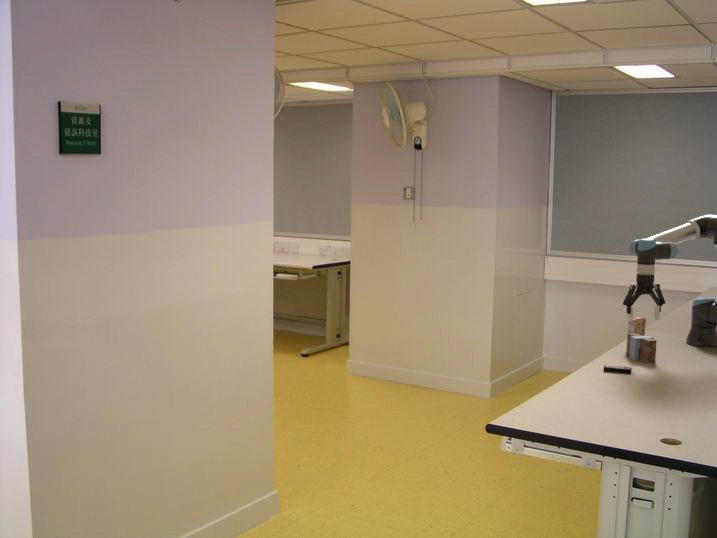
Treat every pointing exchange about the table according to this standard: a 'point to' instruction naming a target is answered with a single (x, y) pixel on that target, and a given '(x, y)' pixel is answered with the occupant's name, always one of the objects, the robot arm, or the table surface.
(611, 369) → the multiport hub
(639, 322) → the candy box
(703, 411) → the table surface
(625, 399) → the table surface
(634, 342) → the grey slotted block
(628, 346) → the walnut notched block
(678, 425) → the table surface
